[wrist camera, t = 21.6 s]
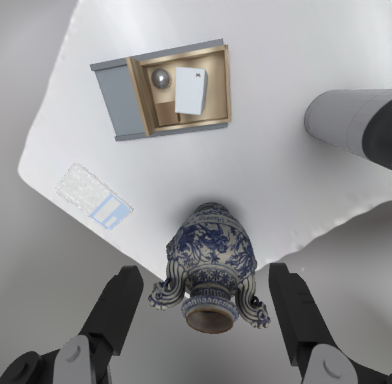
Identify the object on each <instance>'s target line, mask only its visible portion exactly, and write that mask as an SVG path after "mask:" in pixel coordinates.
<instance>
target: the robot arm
mask: <svg viewBox="0 0 392 384" xmlns="http://www.w3.org/2000/svg"><path fill="white" fill-rule="evenodd" d="M305 127H306V129H307V131H308V132H309V133H310V134H311V135H313V136H315V137H317V138H319V139H321V140H323V141H326V142H328V143H330V144H333V145H335V146H337V147H340V148H342V149H344V150H347V151H349V152H351V153H353V154H356V155H358V156H361V157H363V158H365V159H367V160H370V161H372V162H374V163H377V164H379V165H381V166H384V167H386V168H388V169H390V170H392V89H374V90H333V91H329V92H326V93H324V94H322V95H320V96H319V97H317V98H316V99H315V100H314V101H313V102H312V103H311V105H310V106H309V108H308V110H307V112H306V115H305ZM143 284H144V283H143V279H142V277H141V275H140V272H139V270H138V267H137V266H123V267H122V268H121V270H120V272H119V274H118V275H115V276H114V277H113V278H112V279H111V280H110V281H109V282H108V283H107V285H106V286H105V288H104V290H103V292H102V294H101V296H100V297H99V299H98V301H97V302H96V304H95V306H94V308H93V310H92V312H91V313H90V315H89V317H88V319H87V321H86V322H85V324H84V326H83V328H82V329H81V331H80V333H79V334H78V335H77V336H75V337H73V338H72V339H70V340H69V341H68V342H66V344H65V345H64V346H63V347H62V348H61V349H58V350H55V351H52V352H50V353H47V354H44V355H41V356H40V355H39V354H37V353H36V352H34V351H30V352H27V353H25V354H23V355H21V356H20V357H18V358H17V359H16V360H15V361H14V362H13V363H12V364H10V366H9V367H8V368H7V369H6V370H5V372H4V373H3V375H2V376H1V378H0V384H112V379H111V372H110V365H109V361H110V359H111V356H112V355H114V356H120V353H121V350H122V347H123V345H124V342H125V339H126V336H127V333H128V331H129V328H130V325H131V322H132V319H133V317H134V313H135V311H136V308H137V305H138V303H139V300H140V297H141V294H142V291H143V286H144V285H143ZM269 288H270V292H271V296H272V300H273V303H274V307H275V310H276V314H277V317H278V321H279V324H280V328H281V332H282V335H283V339H284V342H285V346H286V349H287V353H288V356H289V359H290V363H291V366H298V367H299V370H300V373H301V377H302V381H301V384H392V374H390V375H389V376H388V375H385V374H382V373H380V372H377V371H375V370H372V369H370V368H367V367H364V366H362V365H360V364H358V363H356V362H354V361H353V360H351V359H350V358H348V357H347V356H346V355H345V354H344V353H343V352H342V351H341V350H340V349H339V348H338V346H337V345H336V344H335V342H334V340H333V338H332V336H331V334H330V332H329V330H328V328H327V326H326V324H325V322H324V320H323V318H322V316H321V313H320V311H319V309H318V307H317V305H316V304H315V301H314V299H313V297H312V295H311V294H310V291H309V289H308V287H307V285H306V282H305V281H304V280H303V279H302V278H301V277H300V276H299V275H298V274H297V273H289V271H288V269H287V266H286V264H285V263H270V268H269Z"/></svg>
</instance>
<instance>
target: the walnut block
mask: <svg viewBox="0 0 392 384" xmlns="http://www.w3.org/2000/svg"><path fill="white" fill-rule="evenodd" d="M155 107H156V111H157V116H158V121H159V125H167V124H174V123H179V122H180V121H181V119H180V113H175V101H171V102H165V103H158V104H155Z"/></svg>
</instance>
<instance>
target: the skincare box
mask: <svg viewBox="0 0 392 384" xmlns="http://www.w3.org/2000/svg"><path fill="white" fill-rule="evenodd" d="M207 83H208V74H207V72H206V70H205V69H204V68H190V67H176V74H175V113H183V114H191V115H201V114H202V112H203V110H204V109H205V103H206V94H207Z"/></svg>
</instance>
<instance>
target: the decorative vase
mask: <svg viewBox="0 0 392 384" xmlns="http://www.w3.org/2000/svg"><path fill="white" fill-rule="evenodd" d="M166 248H167V250H166V252H167V254H168V255H167V259H168V264H167V268H166V275H167V279H166V280H165V282H162V283H161V282H158V283H155V284H154V285H153V291H152V294H151V295H150V296H149V297H148V300H149V301H150V306H153V307H155V308H156V309H157V310H159V309H161V310H163V311H164V310H166V309H167V308H171V307H174V306H176V305H177V304H179V303H180V302H181V301H182V299H183V297H184V294H185V292H186V293H188V294H190V297H191V298H189V299H187V300H186V301H185V302H184V303H183V304H182V309H181V310H182V314H183V316H184V317H185V318H186V321H187V323H188V325H189V326H190V327H192V328H193V329H195V330H197V331H200V332H203V333H210V334H219V333H223V332H226V331H228V330H230V329H231V328H232V327H233V324H234V322H236V321H237V319H238V317H239V314H240V315H241V317H242V318H243V319H244V320H246V321H247V322H249V323H250V324H251V325H252V326H253V327H258V328H259V329H262V328H263V327H264V328H267V327H268V324H269V323H270V318H269V317H268V313H267V310H266V305H264V303H263V302H259V299H258V298H257V297H256V296H254V295H255V291H256V282H255V277H254V275H255V269H256V268H257V261H256V260H255V256H254V253H253V248H252V245H251V242H250V239H249V237H248V235H247V233H246V231H245V230H244V228H243V227H242V226H241V224H240V223H239V222H238V221H237V220H236V219H235V218H234V217H232V216H231V215H230V214H229V212H228V210H227V209H226V208H225V207H224V206H222V205H219V204H216V203H207V204H203V205H201V206H200V207H199V208H198V209H197V210H196V211H195V214H194V215H192V216H191V217H190V218H189V219H187V220H186V221H185V222H184V224H183V225H182V226H181V227H180V229H179V230H178V232H177V234H176V235H175V236H174V237H173V239H172V240H171V241H170V243H168V245H167V246H166ZM168 284H169V285H170V288H171V290H168V289H167V288H168ZM233 296H235V303H236V305H235V304H234V303H233V302H231V301H230V299H231V297H233ZM255 300H256V302H254V301H255Z"/></svg>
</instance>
